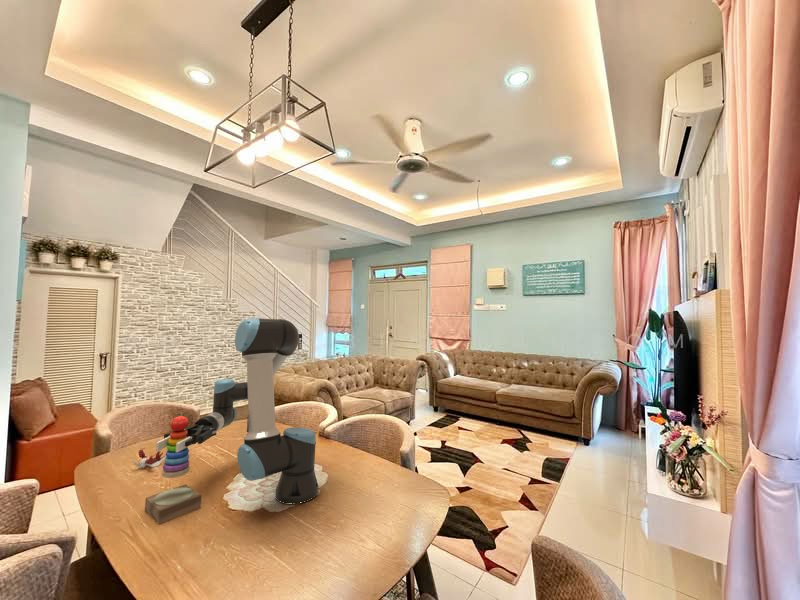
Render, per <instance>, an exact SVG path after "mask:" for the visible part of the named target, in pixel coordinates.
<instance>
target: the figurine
mask: <svg viewBox="0 0 800 600" xmlns="http://www.w3.org/2000/svg"><path fill="white" fill-rule="evenodd" d="M145 449H146V448H145V447H142V448H141V449H139V450H138V456H139V457H138V458H141V460H140V462H139V463H137V462H136V461H134V460H133V462H132V463H133V464H134V465H135V466H136V468H138V469H139V468H142V469H144V468H145V467H146V466H148V467H150V468H157V467H156V466H158V467H159V466H160V465H161V463H162V462H163V461H164V460H165V458H166V457H167V456H166V455H164V456H162V455H163V453H164V452H161V450H159V451H156V452H157V453H156V454H153V455H150V456H149V457H148V456H147V455H146V453H145V451H144V450H145ZM154 456H155V457H154Z"/></svg>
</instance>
